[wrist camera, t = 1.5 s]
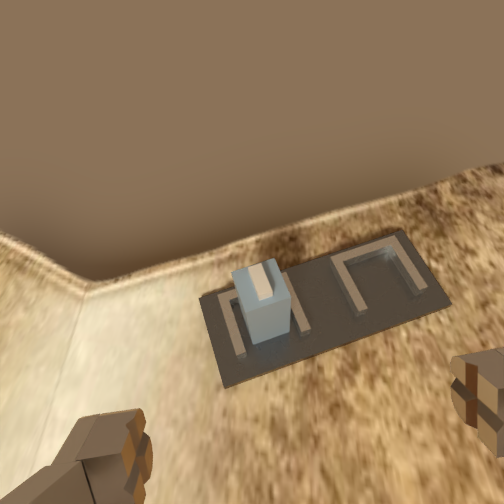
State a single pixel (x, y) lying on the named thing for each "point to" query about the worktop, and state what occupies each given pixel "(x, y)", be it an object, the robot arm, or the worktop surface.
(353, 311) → the panel
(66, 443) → the robot arm
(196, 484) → the worktop surface
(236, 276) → the plug
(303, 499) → the worktop surface
